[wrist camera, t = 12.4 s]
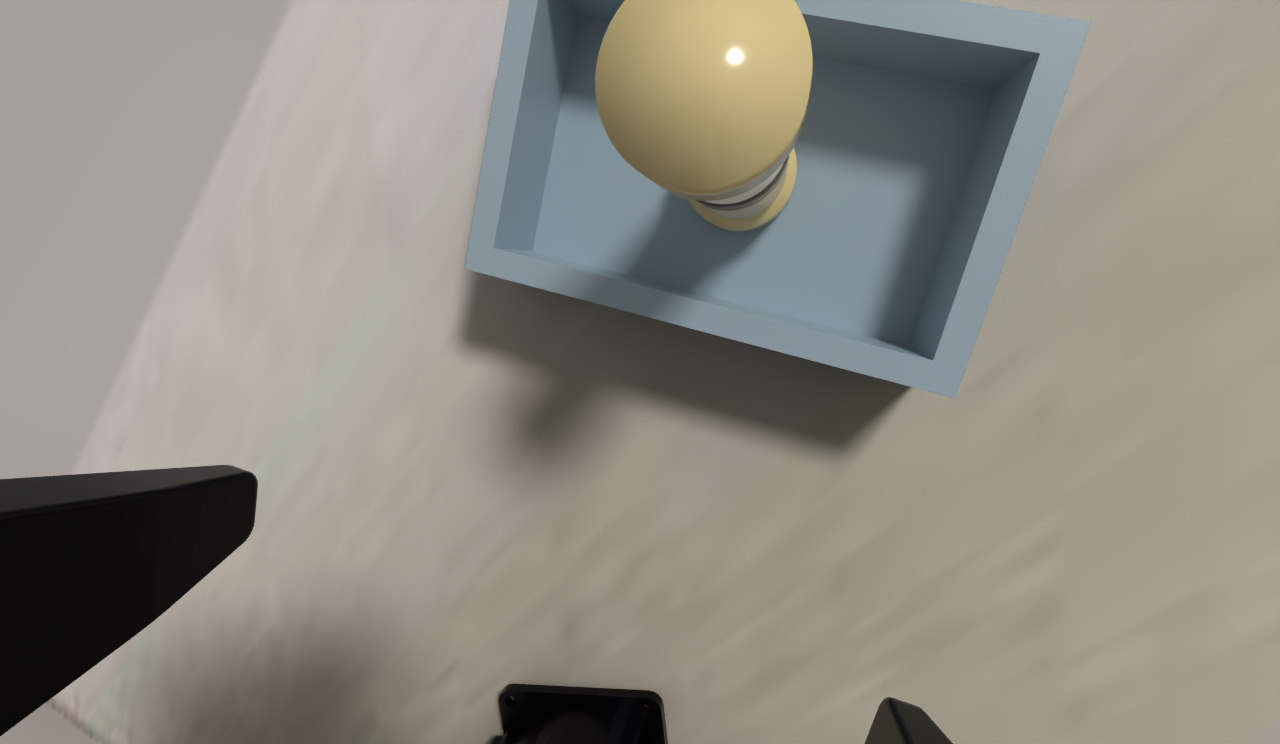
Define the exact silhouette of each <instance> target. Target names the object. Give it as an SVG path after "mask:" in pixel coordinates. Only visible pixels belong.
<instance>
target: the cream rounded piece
mask: <svg viewBox="0 0 1280 744" xmlns="http://www.w3.org/2000/svg"><path fill="white" fill-rule="evenodd" d="M812 66H813V55H812V47H811V40H810V36H809V32H808V28H807V25H806V22H805V20H804V18H803V15H802V13H801V11H800V9H799V7H798V6H797V4H796V2H795V1H794V0H625V1H624V2H623V4H622V5H621V6H620V7H619V9H618V10H617V12H616V13H615V15H614V17H613V19H612V20H611V22H610V24H609V26H608V28H607V30H606V33H605V35H604V37H603V40H602V44H601V47H600V50H599V54H598V59H597V65H596V75H595V90H596V100H597V106H598V111H599V115H600V118H601V121H602V124H603V127H604V129H605V131H606V133H607V136H608V137H609V139H610V141H611V142H612V144H613V146H614V147H615V149H616V150H617V151H618V152H619V154H620V155H621V156H622V157H623V159H624V160H625V161H627V162H628V163H629V164H630V165H631V166H632V167H633V168H634V169H636V170H637V171H638V172H640V173H641V174H643V175H644V176H645V177H647V178H648V179H650V180H651V181H652V182H654V183H655V184H657V185H658V186H659V187H661V188H662V189H664V190H666V191H668V192H670V193H672V194H674V195H677V196H680V197H683V198H687V199H688V200H689V201H690V203H691V205H692V206H693V208H694V209H695V210H696V211H697V212H698V213H699V214H700V215H701V216H702V217H703V218H705V219H706V220H707V221H709V222H710V223H712V224H713V225H715V226H717V227H719V228H721V229H724V230H727V231H732V232H747V231H753V230H756V229H759V228H761V227H763V226H765V225H767V224H768V223H770V222H772V221H773V220H774V219H775V218H776V217H777V216H778V215H779V214H780V213H781V212H782V211H783V210H784V208H785V207H786V205H787V204H788V202H789V200H790V198H791V195H792V193H793V189H794V186H795V179H796V172H797V160H796V154H795V150H794V146H795V144H796V142H797V140H798V138H799V135H800V133H801V130H802V128H803V124H804V120H805V116H806V111H807V105H808V99H809V93H810V87H811V79H812Z"/></svg>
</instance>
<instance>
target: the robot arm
mask: <svg viewBox="0 0 1280 744" xmlns="http://www.w3.org/2000/svg"><path fill="white" fill-rule="evenodd" d="M257 488H258V482H257V479H256V476H255V475H254V474H253V473H251V472H248V471H245V470H243V469H240V468H237V467H234V466H231V465H217V466H201V467H185V468H170V469H154V470H139V471H123V472H108V473H92V474H77V475H61V476H45V477H30V478H14V479H0V736H1V735H3V734H4V733H5V732H7V731H8V730H9V729H11V728H12V727H13V726H15V725H16V724H17V723H19V722H20V721H21V720H23V719H24V718H25V717H27V716H28V715H29V714H31V713H32V712H33V711H35V710H36V709H37V708H39V707H40V706H41V705H43V704H44V703H45V702H47V701H48V700H49V699H51V698H52V697H53V696H55V695H56V694H57V693H59V692H60V691H61V690H63V689H64V688H65V687H67V686H68V685H69V684H71V683H72V682H73V681H75V680H76V679H78V678H79V677H80V676H82V675H83V674H84V673H86V672H87V671H88V670H90V669H91V668H92V667H94V666H95V665H96V664H98V663H99V662H100V661H102V660H103V659H104V658H106V657H107V656H108V655H110V654H111V653H112V652H114V651H115V650H116V649H118V648H119V647H120V646H122V645H123V644H124V643H126V642H127V641H128V640H130V639H131V638H132V637H134V636H135V635H136V634H138V633H139V632H140V631H141V630H143V629H144V628H145V627H147V626H148V625H149V624H150V623H152V622H153V621H154V620H155V619H157V618H158V617H159V616H160V615H161V614H163V613H164V612H165V611H166V610H167V609H168V608H170V607H171V606H172V605H173V604H174V603H175V602H176V601H178V600H179V599H180V598H181V597H182V596H183V595H184V594H186V593H187V592H188V591H189V590H190V589H191V588H192V587H194V586H195V585H196V584H197V583H198V582H199V581H200V580H202V579H203V578H204V577H205V576H206V575H207V574H208V573H210V572H211V571H212V570H213V569H214V568H215V567H216V566H218V565H219V564H220V563H221V562H222V561H223V560H224V559H226V558H227V557H228V556H229V555H230V554H231V553H232V552H234V551H235V550H236V549H237V548H238V547H239V546H240V545H242V544H243V543H244V542H245V541H246V539H247V538H248V537H249V535H250V534H251V532H252V530H253V527H254V522H255V511H256V500H257ZM510 696H511V697H514V698H515V699H516V701H514V700H512V699H511V698H510ZM499 703H500V709H501V716H502V722H503V729H504V736H496V737H495V738H494V739H493V740H492V741H491V742H490V744H668V740H667V731H666V722H665V714H664V705H663V701H662V699H661V697H660V696H659V695H658V694H656V693H655V692H652V691H644V690H624V689H604V688H585V687H565V686H545V685H526V684H509V685H508V686H506V687H505V689H504V690H503V692H502V694H501V695H500V697H499ZM645 704H649V705H651V706H653V707H654V709H649V708H647V707H646V706H645ZM865 744H953V743H952V742H951V741H950V740H949V739H948V738H947V736H946V735H945V734H944V733H943V732H942V731H941V730H940V729H939V727H938V726H937V725H936V724H935V723H934V722H933V721H932V720H931V718H930V717H929V716H928V715H927V714H926V713H925V712H924V711H923V710H922V709H921V708H919V707H917V706H915V705H912V704H909V703H906V702H903V701H900V700H897V699H895V698H891V697H888V698H885V699H884V700H883V701H882V702H881V704H880V706H879V708H878V710H877V713H876V716H875V718H874V721H873V723H872V726H871V729H870V731H869V734H868V736H867V739H866V741H865Z"/></svg>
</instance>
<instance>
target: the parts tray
mask: <svg viewBox="0 0 1280 744" xmlns="http://www.w3.org/2000/svg"><path fill="white" fill-rule="evenodd" d="M624 1H625V0H510V1H509V7H508V13H507V19H506V25H505V31H504V37H503V43H502V48H501V54H500V60H499V66H498V72H497V78H496V84H495V90H494V96H493V102H492V107H491V113H490V119H489V125H488V131H487V137H486V143H485V149H484V155H483V161H482V166H481V172H480V178H479V184H478V190H477V196H476V202H475V208H474V214H473V220H472V225H471V231H470V237H469V243H468V249H467V255H466V261H465V267H464V269H468V270H471V271H475V272H479V273H483V274H486V275H490V276H494V277H498V278H502V279H505V280H509V281H513V282H517V283H520V284H524V285H528V286H532V287H536V288H539V289H543V290H547V291H551V292H554V293H558V294H562V295H566V296H570V297H573V298H577V299H581V300H585V301H588V302H592V303H596V304H600V305H604V306H607V307H611V308H615V309H619V310H622V311H626V312H630V313H634V314H638V315H641V316H645V317H649V318H653V319H656V320H660V321H664V322H668V323H672V324H675V325H679V326H683V327H687V328H690V329H694V330H698V331H702V332H706V333H709V334H713V335H717V336H721V337H724V338H728V339H732V340H736V341H740V342H743V343H747V344H751V345H755V346H758V347H762V348H766V349H770V350H774V351H777V352H781V353H785V354H789V355H792V356H796V357H800V358H804V359H808V360H811V361H815V362H819V363H823V364H826V365H830V366H834V367H838V368H842V369H845V370H849V371H853V372H857V373H860V374H864V375H868V376H872V377H876V378H879V379H883V380H887V381H891V382H894V383H898V384H902V385H906V386H910V387H913V388H917V389H921V390H925V391H928V392H932V393H936V394H940V395H944V396H947V397H951V398H955V397H956V394H957V391H958V389H959V386H960V383H961V380H962V378H963V375H964V372H965V369H966V367H967V364H968V361H969V358H970V356H971V353H972V350H973V347H974V344H975V342H976V339H977V336H978V333H979V331H980V328H981V325H982V322H983V320H984V317H985V314H986V311H987V309H988V306H989V303H990V300H991V298H992V295H993V292H994V289H995V286H996V284H997V281H998V278H999V275H1000V273H1001V270H1002V267H1003V264H1004V262H1005V259H1006V256H1007V253H1008V251H1009V248H1010V245H1011V242H1012V240H1013V237H1014V234H1015V231H1016V228H1017V226H1018V223H1019V220H1020V217H1021V215H1022V212H1023V209H1024V206H1025V204H1026V201H1027V198H1028V195H1029V193H1030V190H1031V187H1032V184H1033V182H1034V179H1035V176H1036V173H1037V170H1038V168H1039V165H1040V162H1041V159H1042V157H1043V154H1044V151H1045V148H1046V146H1047V143H1048V140H1049V137H1050V135H1051V132H1052V129H1053V126H1054V124H1055V121H1056V118H1057V115H1058V113H1059V110H1060V107H1061V104H1062V101H1063V99H1064V96H1065V93H1066V90H1067V88H1068V85H1069V82H1070V79H1071V77H1072V74H1073V71H1074V68H1075V66H1076V63H1077V60H1078V57H1079V55H1080V52H1081V49H1082V46H1083V43H1084V41H1085V38H1086V35H1087V32H1088V30H1089V27H1090V24H1091V21H1084V20H1078V19H1071V18H1065V17H1059V16H1052V15H1046V14H1039V13H1033V12H1027V11H1020V10H1014V9H1007V8H1001V7H994V6H988V5H982V4H975V3H969V2H962V1H956V0H794V1H795V2H796V4H797V6H798V7H799V9H800V11H801V13H802V15H803V18H804V20H805V22H806V25H807V28H808V32H809V36H810V40H811V47H812V55H813V66H812V79H811V87H810V93H809V99H808V105H807V111H806V116H805V120H804V124H803V128H802V130H801V133H800V135H799V138H798V140H797V142H796V144H795V146H794V150H795V154H796V160H797V172H796V179H795V186H794V189H793V193H792V195H791V198H790V200H789V202H788V204H787V205H786V207H785V208H784V210H783V211H782V212H781V213H780V214H779V215H778V216H777V217H776V218H775V219H774V220H773V221H772V222H770V223H768V224H767V225H765V226H763V227H761V228H759V229H756V230H753V231H747V232H732V231H727V230H724V229H721V228H719V227H717V226H715V225H713V224H712V223H710V222H709V221H707V220H706V219H705V218H703V217H702V216H701V215H700V214H699V213H698V212H697V211H696V210H695V209H694V208H693V206H692V205H691V203H690V201H689V200H688V199H687V198H683V197H680V196H677V195H674V194H672V193H670V192H668V191H666V190H664V189H662V188H661V187H659V186H658V185H657V184H655V183H654V182H652V181H651V180H650V179H648V178H647V177H645V176H644V175H643V174H641V173H640V172H638V171H637V170H636V169H634V168H633V167H632V166H631V165H630V164H629V163H628V162H627V161H625V160H624V159H623V157H622V156H621V155H620V154H619V152H618V151H617V150H616V149H615V147H614V146H613V144H612V142H611V141H610V139H609V137H608V136H607V133H606V131H605V129H604V127H603V124H602V121H601V118H600V115H599V111H598V106H597V100H596V90H595V75H596V65H597V59H598V54H599V50H600V47H601V44H602V40H603V37H604V35H605V33H606V30H607V28H608V26H609V24H610V22H611V20H612V19H613V17H614V15H615V13H616V12H617V10H618V9H619V7H620V6H621V5H622V4H623V2H624Z"/></svg>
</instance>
